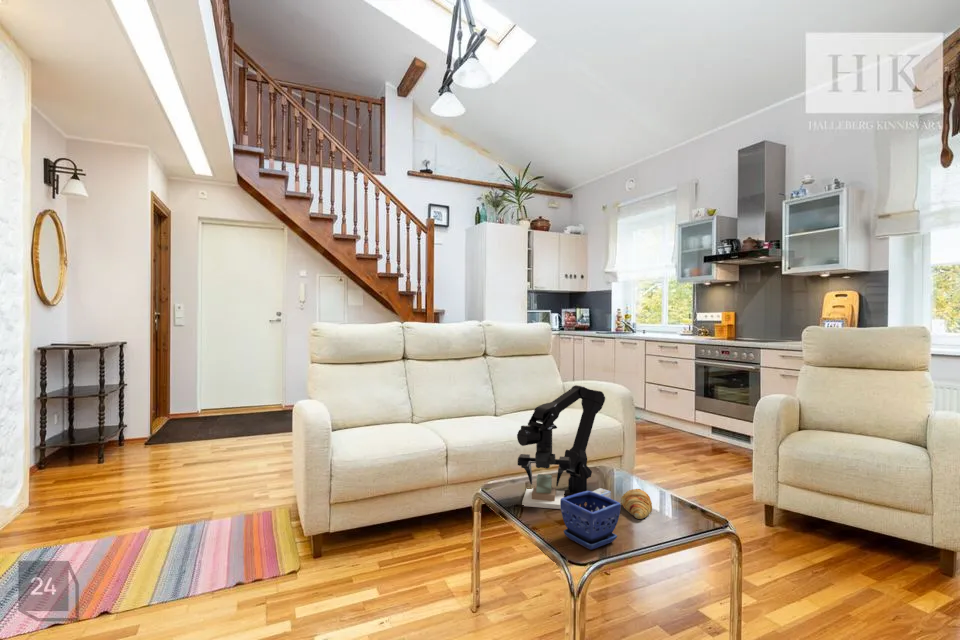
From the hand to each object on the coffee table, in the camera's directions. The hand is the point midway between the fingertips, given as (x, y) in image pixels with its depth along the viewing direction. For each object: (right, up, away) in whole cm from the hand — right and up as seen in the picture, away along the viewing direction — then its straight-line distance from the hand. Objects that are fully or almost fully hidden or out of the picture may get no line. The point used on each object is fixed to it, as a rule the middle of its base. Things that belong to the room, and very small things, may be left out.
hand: (544, 485), depth 177 cm
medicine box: (+16, -6, -16) cm, 23 cm away
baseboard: (0, -6, 0) cm, 6 cm away
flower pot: (+9, -6, -32) cm, 34 cm away
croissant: (+31, -6, -8) cm, 32 cm away
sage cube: (0, -2, 0) cm, 2 cm away
